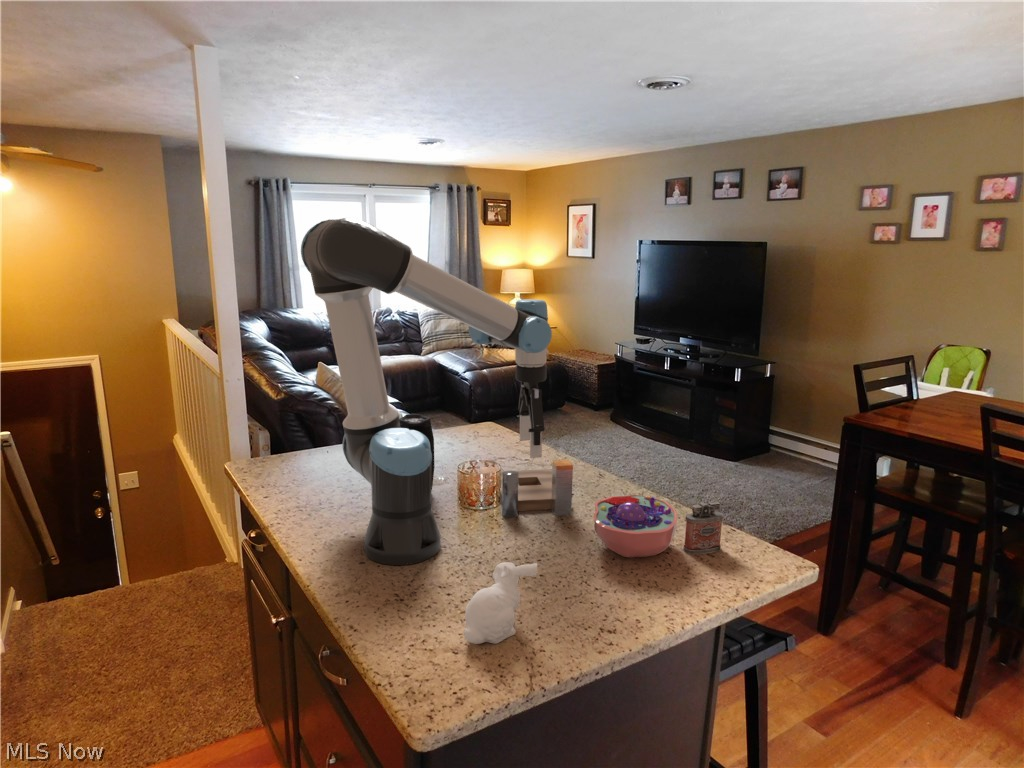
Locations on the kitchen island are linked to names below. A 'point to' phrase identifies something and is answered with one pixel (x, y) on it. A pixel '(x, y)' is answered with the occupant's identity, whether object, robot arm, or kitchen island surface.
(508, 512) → the round bit
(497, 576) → the rabbit
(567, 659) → the kitchen island surface
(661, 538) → the cell model
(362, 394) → the robot arm
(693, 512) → the lighter
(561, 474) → the square bit
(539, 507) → the socket plate
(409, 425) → the portable speaker
